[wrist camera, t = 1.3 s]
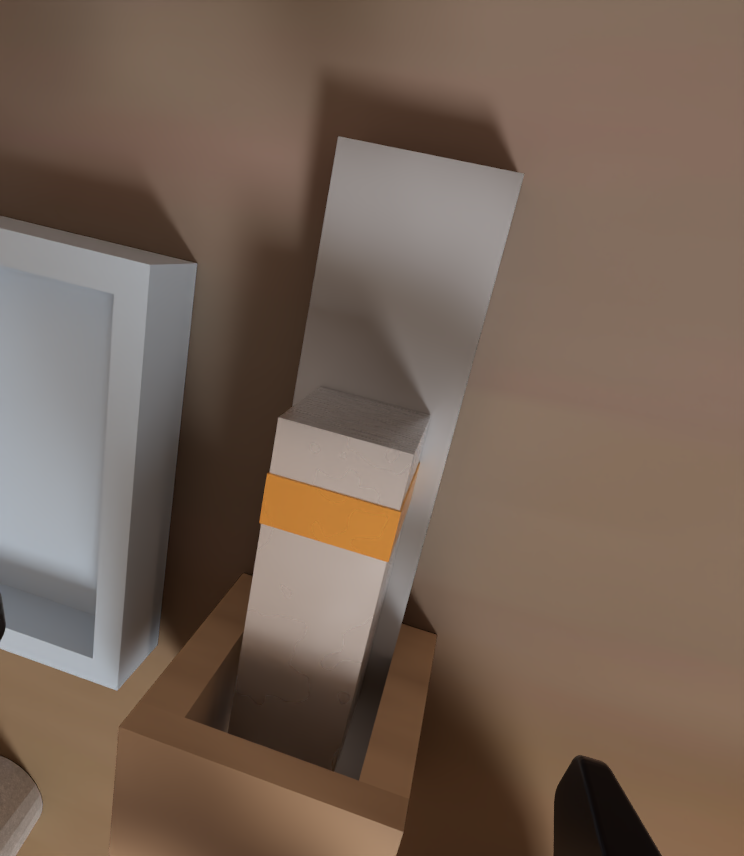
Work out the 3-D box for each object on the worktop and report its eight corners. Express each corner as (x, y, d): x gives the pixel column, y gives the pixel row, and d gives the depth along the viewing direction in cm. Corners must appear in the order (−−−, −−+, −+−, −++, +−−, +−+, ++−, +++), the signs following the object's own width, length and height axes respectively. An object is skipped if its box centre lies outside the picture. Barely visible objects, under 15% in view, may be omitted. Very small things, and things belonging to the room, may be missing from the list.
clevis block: (394, 777, 26) (346, 1009, 18) (220, 715, 27) (104, 907, 19) (570, 191, 18) (624, 142, 10) (311, 138, 19) (173, 56, 11)
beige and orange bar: (359, 698, 23) (332, 784, 19) (267, 667, 23) (223, 744, 20) (432, 415, 19) (415, 455, 15) (318, 385, 19) (276, 417, 16)
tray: (157, 644, 27) (117, 690, 24) (-53, 572, 28) (-114, 607, 25) (197, 263, 21) (150, 264, 18) (-69, 198, 23) (-150, 191, 20)
